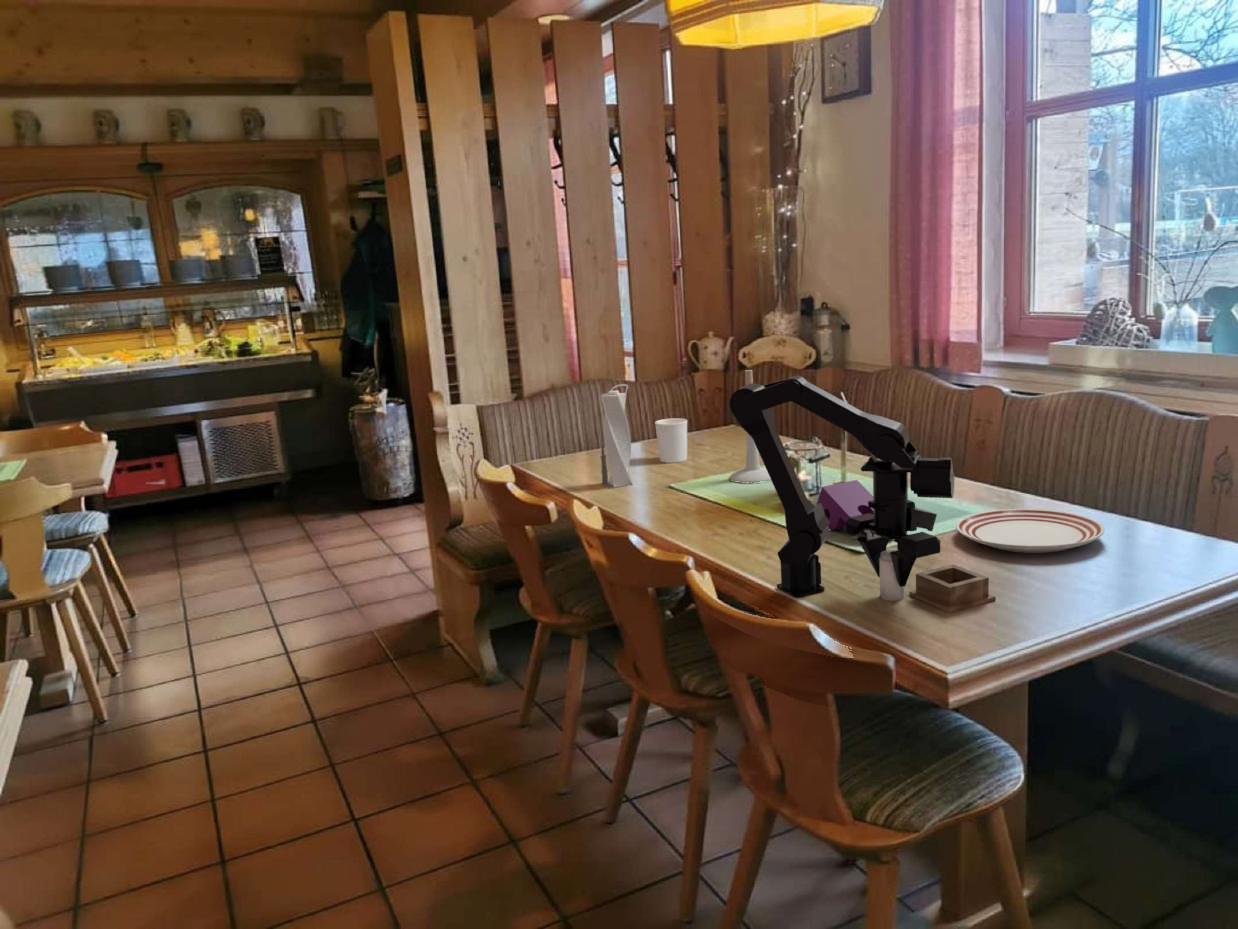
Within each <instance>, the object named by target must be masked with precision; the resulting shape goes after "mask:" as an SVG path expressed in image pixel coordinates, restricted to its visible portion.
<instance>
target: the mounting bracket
mask: <svg viewBox="0 0 1238 929" xmlns="http://www.w3.org/2000/svg"><path fill="white" fill-rule="evenodd" d="M818 495H819V496H818V499H817V502H816V505H817V504H819V503H821V504H822V506H823V509H824V513H825V515H826V517H827V518H828V520H829V521H830V524H829V525H828V527H829V529H830V530H834V531H838V529H839V530H842V529H843V528H844V527H846V524H845V523H846V522H847V520H848V519H849V517H853V516H858V515H863V514H868V513H870V514H873V515H874V509H873V508H870V507H868V501H872V500H873V494H871V492H870V491H869V490H867V489H866V487H865V486H863V484H862V483H861V482H860V481H859V480H858V479H854V480H848V481H844V482H839V483H835V484H834V483H833V484H829V485H823V486H821V488H820V492H819V494H818ZM857 536H858V537H860V533H859V534H858V535H857Z"/></svg>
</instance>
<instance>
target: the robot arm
mask: <svg viewBox="0 0 1238 929" xmlns="http://www.w3.org/2000/svg"><path fill="white" fill-rule="evenodd" d="M789 402H792V403H794V404H796V405H797V406H800V407H801V408H804V410H807V411H809V412H811V413H812V414H814V415H815V416H818V417H819V418H822V419H823V420H825V421H826V422H829V423H830V424H832V425H834V426H836V427H837V428H839V429H841V430H843V431H845V432H846V433H849V434H850V435H851V436H852V437H854V438H855V440H856V441H857V442H858V443H859V444H860V445H861V446H862V447H863V448H864V449H865V450H867V451H868V452H869V453H870V454H872V455H870V456H869V457H868V460H867V461H866V462H864V463H863V465H862V466H861V467H860V471H861V472H870V473H871V472H872V487H873V488H872V490H873V491H872V492H873V493H872V496H873V500H872V501H868V507H870V508H873V509H874V515H873V514H870V513H868V514H863V515H858V516H853V517H849V519H848V520H847V522H846V523H845V533H846V534H848V535H851V536H853V537H856V536H858V534H859V533H860V536H858V537H856V538H855V540H856V542H858V543H859V545H860V546H861V549H862V550H863V551H864V554H866V557H867V559H868V560H869V563H870V564H871V566H872V569H873V570H874V572H875V573H876V575H877V577H878V578H880V561H879V559H880V557H881V552H883V551H887V547H888V544H889V542H890V541H891V542H894V543H896V544H897V545H896V546H897V547H896V549H897V550H895V551H892V552H890V555H891V559H892V563H893V567H894V570H895V574H896V578H897V581H898V584H899V586H900V587H903V586H904V587H906V585H907V582H908V580H909V577H910V574H911V572H912V569H913V567H914V564H915V562H916V561H917V559H919V558H923V557H927V556H933V555H936V554H940V553H941V540H940V539H939V538H938V537H937V536H936V535H933V534H930V533H927V532H924V531H920V532H916V531H917V529H918V528H919V529H924V530H927V531H928V532H933V530H934V527H935V523H936V520H937V516H938V513H935V512H932V511H928V510H926V509H922V508H919V507H916V502H915V501H912V500H909V498H908V497H909V494H908V493H909V490H908V489H910V491H911V492H913V494H914V495H916V497H917V498H930V499H931V498H932V499H937V498H939V499H953V498H954V492H955V473H954V466H953V458H952V456H951V457H949V456H948V457H936V458H935V457H922V454H921V453H920V452H919V451H918V449H917V448H916V447H915V445H914V444H913V443H912V442H911V441H910V434H909V431H908V429H907V427H906V426H905V425H904V424H902V423H901V422H899V421H896V420H893V419H890V418H887V417H884V416H881V415H876V414H871V413H868V412H865V411H862V410H860V409H858V408H857V407H855V406H853V405H851V404H849V403H848V402H845V401H844V400H842V399H840V398H838V397H837V396H835V395H833V394H831V393H830V392H828V391H826V390H823V389H822V388H820V387H818V386H816V385H814V384H813V383H811V382H809V381H808V380H807V379H805V378H804V377H803V376H800V375H794V376H791V377H789V378H787V379H783V380H778V381H774V382H771V383H767V384H763V385H762V384H759V383H756V382H753V383H751V384H748V385H744V386H742V387H741V388H739V389H737V390H735V391H734V392H733V393H732V394H731V396H730V398H729V402H728V407H729V411H730V413H731V414H732V416H733V417H734V419H735V420H736V422H737V423H738V425H739V426H740V428H741V429H743V430H744V431H745V432H746V434H747V433H748V434H749V435H750V436H751V437H752V439H753V440H754V443H755V445H756V447H757V449H758V455H759V456H760V459H761V460H762V462H763V466H764V468H766V470H767V472H768V474H769V476H770V478H771V481H770V482H771V483H772V485H773V487H774V489H775V492H776V494H777V496H778V498H779V501H780V502H781V505H782V508H783V511H784V518H785V519H784V520H785V530H786V532H787V537H788V539H787V541H786V542H785V544H784V545H783V546H782V547H781V548H780V550H779V551H778V552H777V557H778V559H779V561H780V578H781V580H780V583H777V584H776V587H777V589H779V590H781V591H783V592H784V593H787V594H789V595H791V596H792V597H794V598H798V597H802V596H803V597H804V596H806V595H810V594H814V593H815V594H816V593H819V592H824V591H825V586H823V585H822V564H821V562H820V561H819V560H820V558H819V555H817V553H818V551H819V550H820V549H821V547H822V546H823V544H824V543H825V542H826V541H827V539H828V537H829V534H830V531H829V527H828V525H829V524H830V521H829V520H828V518H827V517H826V515H825V513H824V509H823V506H822V504H821V503H819V504H817V503H816V504H815V505H814V504H813V503H812V502H811V501H810V500H809V499H808V497H807V495H806V493H805V492H804V488H803V487H802V485H801V481H800V480H799V478H798V475H797V473H796V471H795V468H794V467H793V465H792V462H791V460H790V458H789V455H788V453H787V451H786V448H785V446H784V444H783V442H782V440H781V438H780V435H779V433H778V430H777V428H776V423H775V422H776V421H775V413H774V412H775V410H774V407H776V406H780V405H783V404H786V403H789ZM908 473H909V474H910V478H909V479H910V480H909V481H910V482H909V481H908V476H909V475H908ZM909 483H910V486H909ZM909 487H910V488H909ZM908 532H914V533H911V534H908ZM915 532H916V533H915Z"/></svg>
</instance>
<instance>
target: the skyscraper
mask: <svg viewBox="0 0 1238 929" xmlns="http://www.w3.org/2000/svg"><path fill="white" fill-rule="evenodd" d="M622 386H623V387H626V388H625V392H620V391H619V390H618V389H617V390H614V389H616V388H618V387H622ZM628 389H629V385H628V384H627V383H619V384H616V385H614V386H612V387H611V389H610V390H609V391H608V392H606V393H602V394H601V395H600V399H601V402H602V406H603V410H604V420H603V440H602V439H601V446H600V447H601V448H600V449H601V455H600V461H601V478H602V479H601V480H602V481H601V485H603V486H604V485H605V487H606V488H607V489H610V488H611V489H616V488H622V487H629V486H628V485H630V486H634V483H633V480H632V479H631V476H630V474H629V473H630V466H631V464H630V463H631V457H632V456H631V455H632V441H631V440H632V439H631V438H632V437H631V432H630V431H631V430H630V426H629V420H628V418H627V415H626V412H625V410H626V402H627V393H628ZM607 467H608V468H607ZM608 470H609V471H608ZM608 472H609V475H610V477H608Z"/></svg>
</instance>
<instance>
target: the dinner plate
mask: <svg viewBox="0 0 1238 929" xmlns="http://www.w3.org/2000/svg"><path fill="white" fill-rule="evenodd" d="M955 529H956V531H958V532H959V533H960V534H961V535H963V536H964V537H965V538H966V537H967V539H970V540H971V541H974V542H976V543H979V544H982V545H985V546H988V547H991V548H994V549H997V548H998V549H997V550H1002V551H1007V552H1013V553H1021V552H1023V554H1024V553H1025V554H1045V553H1046V554H1048V553H1055V552H1061V551H1065V550H1070V549H1073V548H1077V547H1081V546H1084V545H1087V544H1089V543H1092V542H1093V541H1096V540H1097V539H1099V538H1100V537H1102V535H1104V533H1105V526H1104V525H1103V524H1102V523H1101V522H1099V521H1098V520H1095V519H1093V518H1091V517H1087V516H1085V515H1082V514H1077V513H1074V512H1067V511H1062V510H1055V509H1040V508H1038V509H1037V508H1006V509H1005V508H1004V509H995V510H987V511H982V512H977V513H973V514H969V515H966V516H964V517H962V518H961V519H959V520H958V521H957V522H956V524H955Z"/></svg>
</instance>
